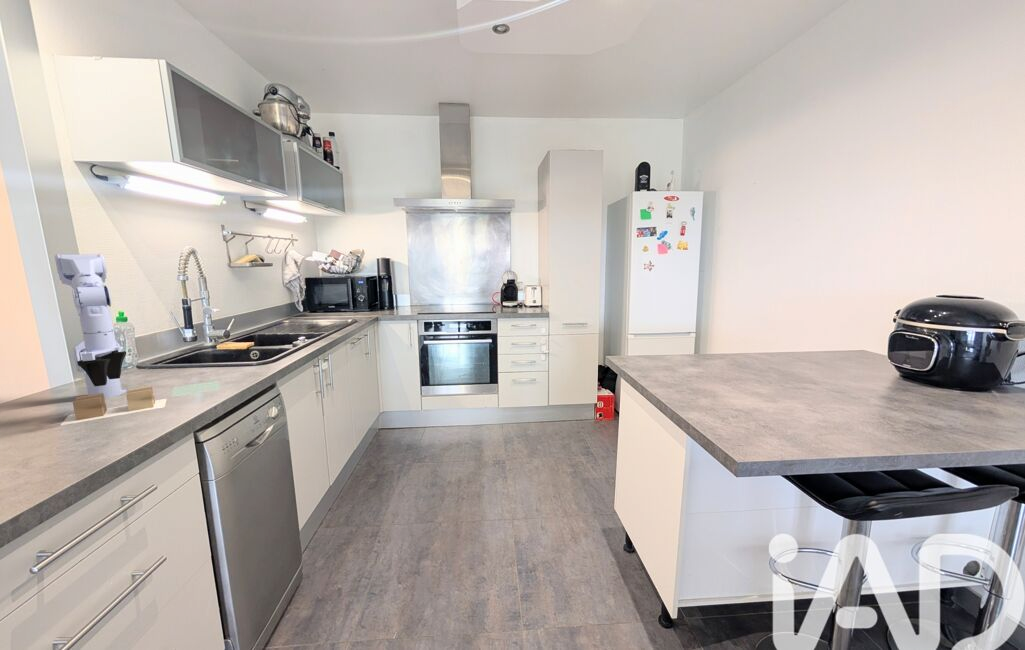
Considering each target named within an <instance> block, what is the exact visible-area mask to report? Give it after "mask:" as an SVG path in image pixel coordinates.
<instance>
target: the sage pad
mask: <svg viewBox="0 0 1025 650" xmlns="http://www.w3.org/2000/svg"><path fill="white" fill-rule="evenodd" d="M218 390H221V386H220V381H219V380H212V381H208V382H200V383H199V382H198V383H193V384H187V385H181V386H175V387H172V391H171V396H170V398H175V397H181V396H187V395H193V394H198V393H199V394H200V393H206V392H213V391H218Z"/></svg>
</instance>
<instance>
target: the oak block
mask: <svg viewBox="0 0 1025 650" xmlns="http://www.w3.org/2000/svg"><path fill="white" fill-rule="evenodd" d="M125 395H126V401H127V405H128V407H129V411H133V410H139V409H145V408H151V407H154V404H155V400H156V399H155V395H154V388H153V385H150V386H149V385H148V386H144V387H143V386H142V387H136V388H129V389H128V390H127V391H126V392H125Z"/></svg>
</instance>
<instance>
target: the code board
mask: <svg viewBox="0 0 1025 650" xmlns="http://www.w3.org/2000/svg"><path fill="white" fill-rule="evenodd" d="M166 403H167V398H162V399H161V398H160V399H155V404H154V407H151V408H145V409H139V410H133V411H129V407H128V404H125V405H120V406H116V407H115V406H114V407H106V408H107V411H106V412H105V414H104V416H99V417H93V418H88V419H82V420H76V417H75V413H73V414H68V416H67V417H65V419H64V420H63V421H62V422H61V423H60V427H61V426H65V425H66V426H67V425H71V424H77V423H84V422H87V421H94V420H100V419H104V418H111V417H117V416H122V415H128V414H133V413H134V414H135V413H138V412H139V413H140V412H145V411H150V410H157V409H161V408H162V409H163V408H165V407H166Z"/></svg>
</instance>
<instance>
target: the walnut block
mask: <svg viewBox="0 0 1025 650" xmlns="http://www.w3.org/2000/svg"><path fill="white" fill-rule="evenodd" d="M72 406H73V411H74V414H75V417H76V420H82V419H88V418H93V417H99V416H104V414H105V412H106V411H107V408H108V407H107V403H106V398H105V397H104V393H101V394H94V395H88V394H87V395H83V396H82V395H81V396H77V397H76V398H75V399H74V400H73V401H72Z"/></svg>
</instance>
